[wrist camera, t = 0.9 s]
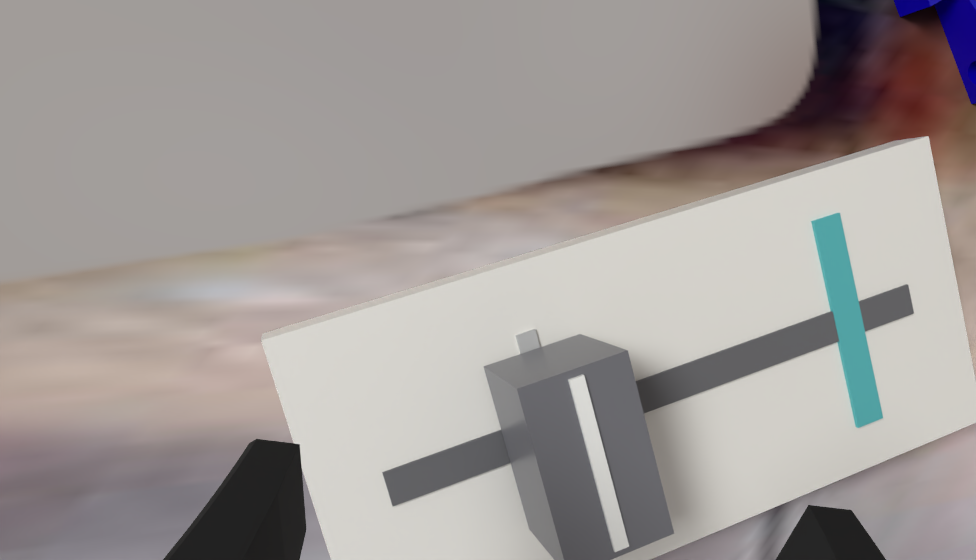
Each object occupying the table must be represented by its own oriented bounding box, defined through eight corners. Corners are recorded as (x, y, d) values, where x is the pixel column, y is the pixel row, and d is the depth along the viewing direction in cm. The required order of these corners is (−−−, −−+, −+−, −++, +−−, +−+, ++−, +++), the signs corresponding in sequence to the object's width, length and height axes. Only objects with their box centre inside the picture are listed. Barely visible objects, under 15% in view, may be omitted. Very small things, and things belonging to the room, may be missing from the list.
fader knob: (529, 529, 22) (570, 578, 19) (483, 366, 22) (518, 389, 18) (621, 492, 23) (676, 535, 20) (580, 333, 22) (629, 350, 19)
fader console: (363, 649, 23) (369, 680, 22) (262, 333, 22) (260, 341, 20) (947, 409, 28) (986, 420, 27) (893, 141, 27) (931, 135, 25)
